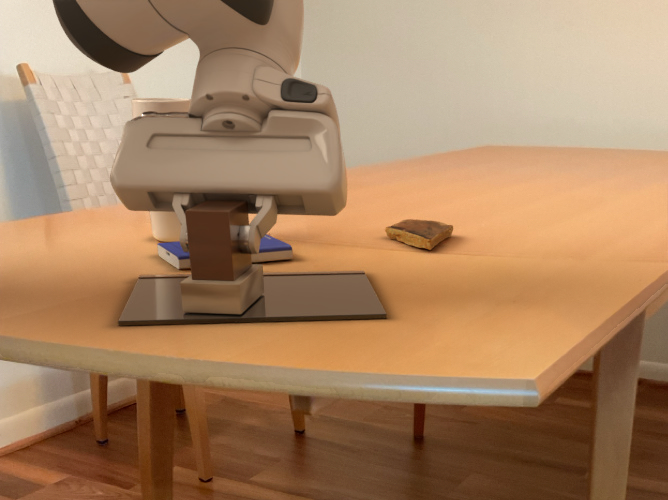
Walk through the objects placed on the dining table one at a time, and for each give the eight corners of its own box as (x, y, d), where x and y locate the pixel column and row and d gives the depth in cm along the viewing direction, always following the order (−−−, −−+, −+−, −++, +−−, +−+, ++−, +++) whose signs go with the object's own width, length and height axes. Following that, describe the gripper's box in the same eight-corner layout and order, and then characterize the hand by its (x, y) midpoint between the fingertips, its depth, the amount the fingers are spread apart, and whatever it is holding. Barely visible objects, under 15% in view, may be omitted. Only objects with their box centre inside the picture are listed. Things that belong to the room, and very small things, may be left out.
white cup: (136, 238, 109) (119, 98, 102) (186, 232, 113) (173, 97, 106) (164, 246, 104) (149, 101, 97) (216, 240, 108) (204, 99, 101)
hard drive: (265, 233, 104) (156, 241, 99) (292, 245, 98) (178, 254, 92) (265, 247, 105) (158, 256, 99) (292, 260, 98) (179, 270, 93)
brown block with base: (241, 314, 76) (233, 213, 72) (182, 312, 76) (171, 212, 73) (264, 292, 83) (258, 199, 79) (210, 290, 83) (202, 197, 80)
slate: (118, 325, 74) (117, 319, 74) (139, 280, 89) (139, 275, 89) (386, 318, 77) (386, 312, 77) (364, 275, 92) (364, 270, 92)
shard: (430, 252, 103) (430, 236, 102) (366, 248, 105) (366, 231, 104) (455, 237, 112) (456, 221, 111) (396, 232, 114) (396, 217, 113)
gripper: (114, 85, 79) (85, 222, 75) (348, 88, 77) (331, 229, 73) (139, 137, 85) (114, 267, 81) (357, 141, 83) (342, 274, 79)
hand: (219, 249), depth 77 cm, fingers closed on brown block with base, 3 cm apart
